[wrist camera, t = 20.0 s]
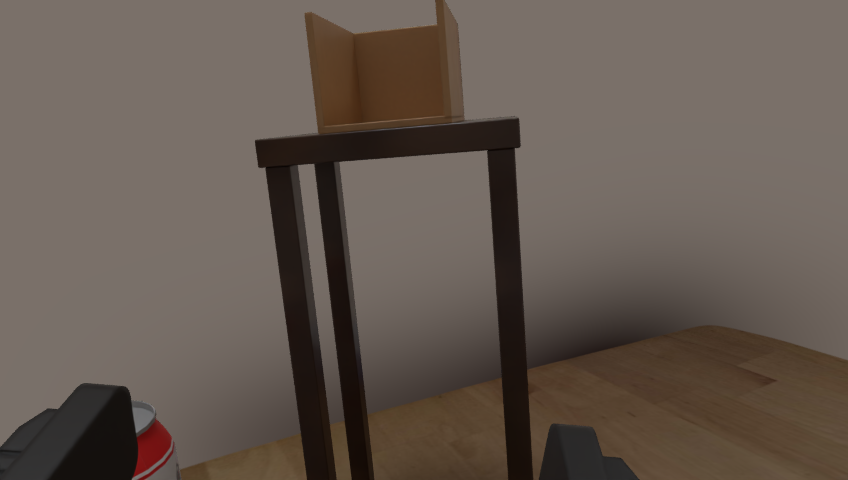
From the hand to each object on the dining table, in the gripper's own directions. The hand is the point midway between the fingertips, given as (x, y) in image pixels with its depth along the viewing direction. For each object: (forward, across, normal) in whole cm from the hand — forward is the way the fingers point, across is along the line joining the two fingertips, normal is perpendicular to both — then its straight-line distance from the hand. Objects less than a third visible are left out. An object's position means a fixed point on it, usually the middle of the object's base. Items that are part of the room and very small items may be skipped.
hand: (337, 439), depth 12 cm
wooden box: (+27, +1, +1) cm, 27 cm away
